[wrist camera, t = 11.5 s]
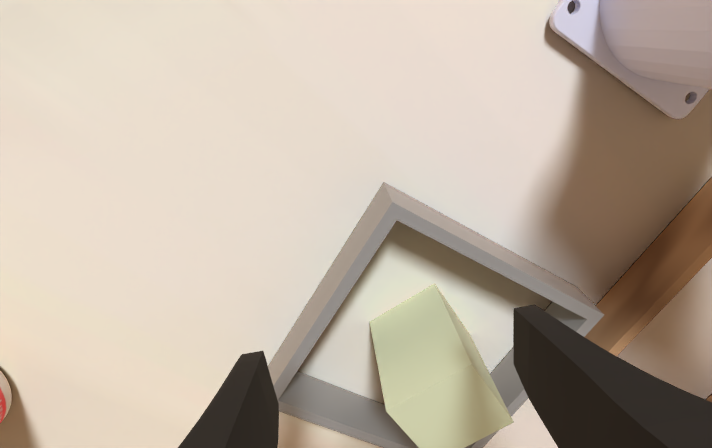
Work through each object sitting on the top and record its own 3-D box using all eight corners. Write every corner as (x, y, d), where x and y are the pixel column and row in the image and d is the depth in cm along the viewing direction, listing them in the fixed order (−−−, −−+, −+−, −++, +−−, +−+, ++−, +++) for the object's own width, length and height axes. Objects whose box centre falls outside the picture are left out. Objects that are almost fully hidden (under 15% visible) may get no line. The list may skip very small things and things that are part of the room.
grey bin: (383, 182, 21) (392, 201, 18) (576, 287, 24) (604, 315, 22) (266, 369, 24) (261, 404, 22) (446, 437, 28) (458, 474, 25)
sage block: (469, 333, 25) (513, 421, 19) (407, 368, 25) (433, 463, 20) (434, 283, 23) (471, 364, 18) (369, 321, 24) (386, 411, 18)
